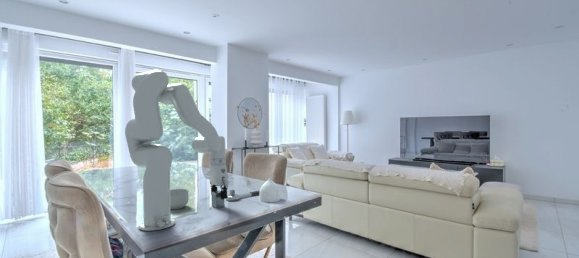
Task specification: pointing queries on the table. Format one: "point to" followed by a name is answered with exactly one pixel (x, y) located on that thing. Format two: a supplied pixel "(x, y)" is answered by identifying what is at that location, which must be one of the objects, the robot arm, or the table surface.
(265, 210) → the table surface
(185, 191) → the teacup
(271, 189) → the teardrop
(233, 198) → the ratchet
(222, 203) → the socket
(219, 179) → the robot arm
